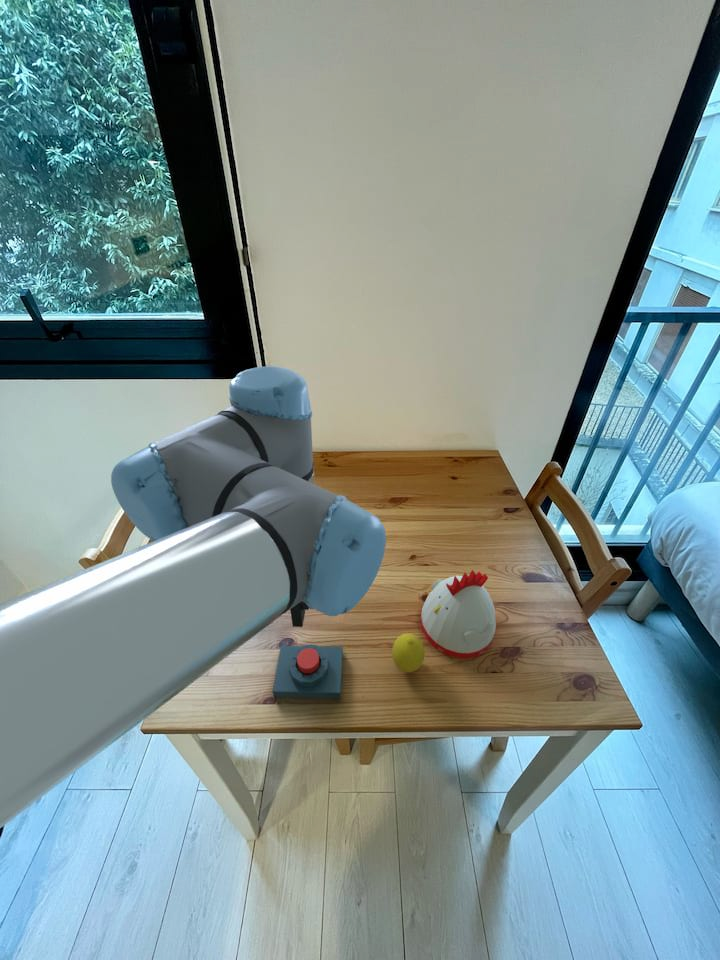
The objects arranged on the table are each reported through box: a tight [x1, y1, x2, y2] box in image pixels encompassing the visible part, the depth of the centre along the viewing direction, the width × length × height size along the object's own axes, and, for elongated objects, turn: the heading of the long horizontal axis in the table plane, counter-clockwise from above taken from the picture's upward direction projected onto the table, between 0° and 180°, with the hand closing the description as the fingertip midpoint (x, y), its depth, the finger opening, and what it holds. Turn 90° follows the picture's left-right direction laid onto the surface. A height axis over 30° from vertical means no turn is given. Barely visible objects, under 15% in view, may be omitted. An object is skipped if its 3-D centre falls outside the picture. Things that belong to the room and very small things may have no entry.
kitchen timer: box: [419, 569, 497, 659], centre depth 74 cm, size 14×14×15 cm
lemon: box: [391, 633, 426, 673], centre depth 70 cm, size 6×6×8 cm
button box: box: [272, 644, 344, 700], centre depth 69 cm, size 11×8×4 cm
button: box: [297, 648, 319, 674], centre depth 68 cm, size 4×4×2 cm
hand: (299, 618), depth 62 cm, fingers closed
